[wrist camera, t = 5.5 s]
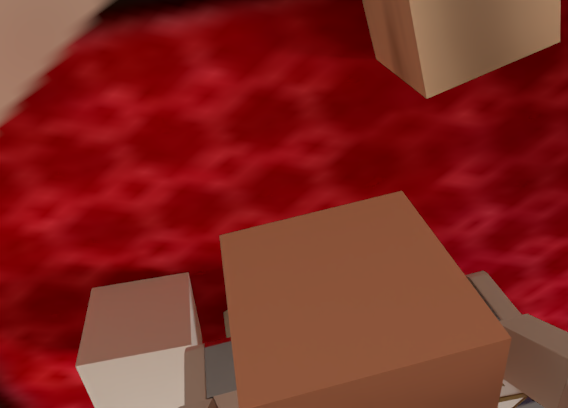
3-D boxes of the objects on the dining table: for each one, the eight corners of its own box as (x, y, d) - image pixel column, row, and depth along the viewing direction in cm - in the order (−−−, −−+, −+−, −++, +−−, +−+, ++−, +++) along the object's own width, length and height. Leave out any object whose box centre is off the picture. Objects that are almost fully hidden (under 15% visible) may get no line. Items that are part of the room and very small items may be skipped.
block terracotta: (402, 190, 12) (511, 337, 8) (403, 314, 15) (485, 468, 11) (219, 235, 12) (238, 411, 8) (256, 352, 15) (284, 525, 11)
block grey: (188, 271, 25) (191, 344, 21) (201, 333, 28) (206, 409, 23) (92, 286, 24) (75, 366, 20) (115, 349, 27) (105, 430, 23)
